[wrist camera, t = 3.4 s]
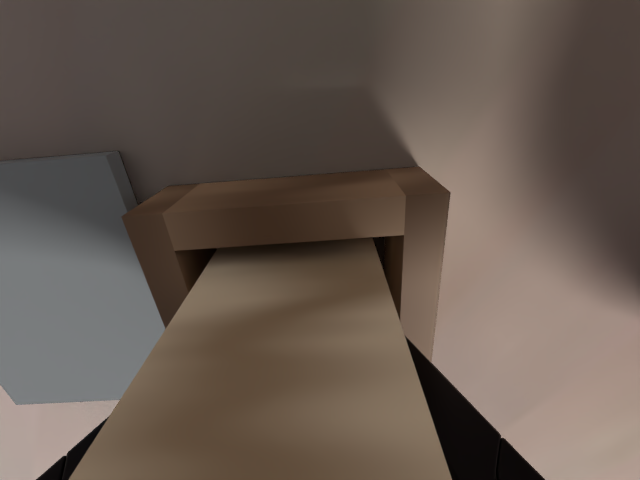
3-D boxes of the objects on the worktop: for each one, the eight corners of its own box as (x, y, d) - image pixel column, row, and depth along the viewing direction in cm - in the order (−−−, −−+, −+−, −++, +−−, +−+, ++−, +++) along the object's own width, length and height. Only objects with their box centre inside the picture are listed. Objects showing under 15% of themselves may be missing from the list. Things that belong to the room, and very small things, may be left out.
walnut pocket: (419, 166, 9) (450, 192, 7) (407, 354, 13) (425, 411, 10) (168, 186, 10) (120, 216, 7) (222, 363, 13) (202, 421, 11)
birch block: (366, 219, 10) (477, 554, 3) (368, 326, 12) (435, 679, 5) (229, 229, 10) (12, 566, 3) (253, 332, 12) (156, 682, 5)
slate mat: (118, 151, 9) (105, 154, 9) (202, 383, 14) (197, 395, 13) (-136, 172, 9) (-164, 177, 9) (28, 392, 14) (16, 404, 13)
